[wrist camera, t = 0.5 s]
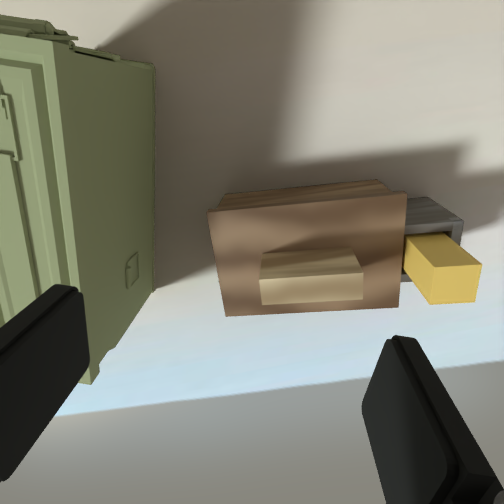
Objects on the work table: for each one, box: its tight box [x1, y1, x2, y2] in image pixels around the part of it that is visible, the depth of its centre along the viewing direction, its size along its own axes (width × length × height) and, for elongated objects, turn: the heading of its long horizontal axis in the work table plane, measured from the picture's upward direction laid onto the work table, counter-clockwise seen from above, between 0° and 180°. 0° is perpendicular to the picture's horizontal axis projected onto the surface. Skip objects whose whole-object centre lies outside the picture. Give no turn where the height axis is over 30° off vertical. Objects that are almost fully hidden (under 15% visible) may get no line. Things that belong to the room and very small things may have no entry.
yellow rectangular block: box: [402, 231, 482, 305], centre depth 37 cm, size 4×4×16 cm
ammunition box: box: [0, 15, 155, 385], centre depth 36 cm, size 10×33×20 cm, turn 172°
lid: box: [206, 191, 464, 317], centre depth 35 cm, size 14×27×8 cm, turn 97°
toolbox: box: [217, 179, 457, 270], centre depth 42 cm, size 13×26×8 cm, turn 97°
